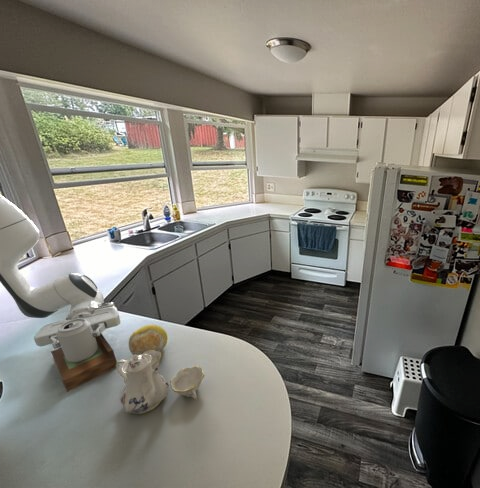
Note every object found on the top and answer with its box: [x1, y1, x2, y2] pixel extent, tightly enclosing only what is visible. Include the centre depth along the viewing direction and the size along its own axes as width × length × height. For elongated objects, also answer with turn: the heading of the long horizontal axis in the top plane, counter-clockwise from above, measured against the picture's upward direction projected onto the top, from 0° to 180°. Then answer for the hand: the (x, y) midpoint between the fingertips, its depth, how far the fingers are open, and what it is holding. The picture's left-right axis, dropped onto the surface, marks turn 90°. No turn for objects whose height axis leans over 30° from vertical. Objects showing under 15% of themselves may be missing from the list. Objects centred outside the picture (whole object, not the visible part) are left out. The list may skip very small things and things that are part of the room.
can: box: [56, 318, 98, 362], centre depth 78 cm, size 8×8×12 cm
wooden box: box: [50, 332, 118, 392], centre depth 80 cm, size 12×18×7 cm, turn 53°
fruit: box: [128, 324, 168, 356], centre depth 85 cm, size 10×11×10 cm
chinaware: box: [115, 350, 205, 416], centre depth 71 cm, size 28×17×17 cm, turn 74°
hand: (77, 340), depth 77 cm, fingers closed on can, 7 cm apart
